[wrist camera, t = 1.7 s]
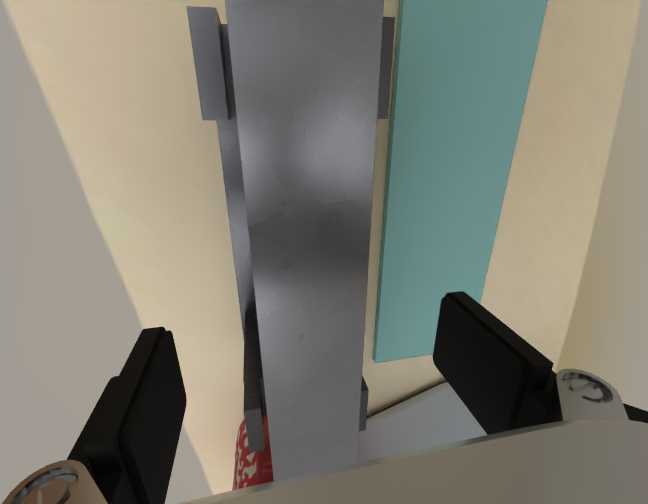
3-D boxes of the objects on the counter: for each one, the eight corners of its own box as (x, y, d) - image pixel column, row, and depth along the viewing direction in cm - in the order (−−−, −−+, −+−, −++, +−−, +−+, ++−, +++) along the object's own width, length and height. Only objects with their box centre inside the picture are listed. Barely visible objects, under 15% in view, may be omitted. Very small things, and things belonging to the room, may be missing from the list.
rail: (226, -31, 11) (214, -102, 7) (344, -22, 11) (388, -82, 8) (271, 434, 19) (276, 507, 16) (336, 421, 20) (355, 489, 17)
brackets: (207, 43, 17) (169, -17, 9) (337, 47, 18) (406, -1, 10) (245, 347, 25) (243, 460, 17) (333, 335, 26) (371, 435, 18)
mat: (400, -15, 18) (405, -19, 17) (541, -5, 19) (549, -8, 19) (372, 358, 28) (375, 363, 28) (465, 344, 30) (469, 348, 29)
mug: (330, 452, 32) (379, 659, 20) (236, 473, 31) (227, 713, 18) (324, 351, 27) (386, 549, 15) (211, 371, 25) (176, 611, 13)
